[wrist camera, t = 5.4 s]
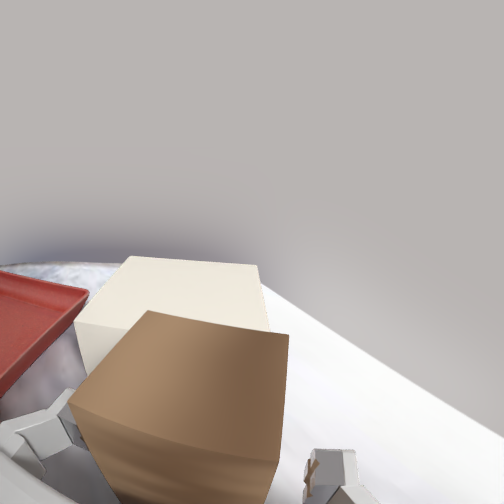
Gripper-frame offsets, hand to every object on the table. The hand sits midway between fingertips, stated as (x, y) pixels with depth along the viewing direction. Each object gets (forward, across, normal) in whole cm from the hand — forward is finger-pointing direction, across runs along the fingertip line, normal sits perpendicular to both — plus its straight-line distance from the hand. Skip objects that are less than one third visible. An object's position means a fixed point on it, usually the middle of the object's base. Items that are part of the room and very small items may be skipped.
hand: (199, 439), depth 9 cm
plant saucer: (+5, +23, +7) cm, 24 cm away
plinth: (+13, +5, +6) cm, 15 cm away
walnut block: (0, 0, +6) cm, 6 cm away
